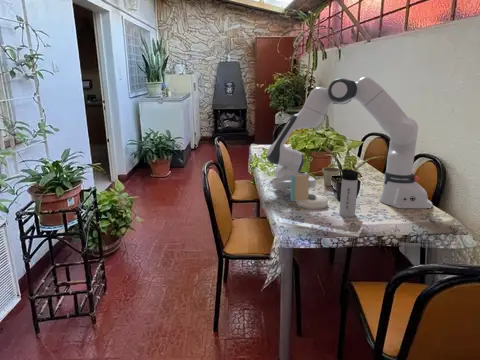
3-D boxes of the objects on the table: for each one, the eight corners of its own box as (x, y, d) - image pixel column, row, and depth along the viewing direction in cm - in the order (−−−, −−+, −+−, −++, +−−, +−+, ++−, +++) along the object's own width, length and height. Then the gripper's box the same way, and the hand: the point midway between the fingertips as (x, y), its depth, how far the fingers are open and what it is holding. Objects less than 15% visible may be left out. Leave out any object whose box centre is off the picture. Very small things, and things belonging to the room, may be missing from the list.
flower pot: (339, 187, 195) (340, 172, 193) (321, 186, 197) (322, 171, 195) (338, 182, 204) (339, 167, 202) (321, 182, 206) (322, 167, 204)
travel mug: (345, 212, 159) (349, 167, 154) (357, 217, 154) (361, 171, 148) (335, 215, 156) (338, 169, 151) (347, 220, 151) (351, 173, 145)
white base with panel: (321, 198, 174) (322, 170, 170) (332, 208, 161) (334, 178, 157) (286, 200, 172) (287, 172, 168) (295, 210, 158) (296, 180, 155)
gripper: (268, 174, 175) (276, 182, 162) (310, 172, 178) (320, 180, 165) (268, 186, 177) (275, 195, 164) (309, 184, 180) (319, 193, 167)
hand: (298, 187), depth 164 cm, fingers closed
